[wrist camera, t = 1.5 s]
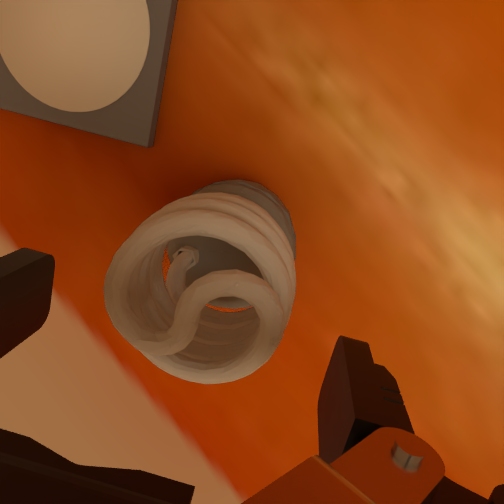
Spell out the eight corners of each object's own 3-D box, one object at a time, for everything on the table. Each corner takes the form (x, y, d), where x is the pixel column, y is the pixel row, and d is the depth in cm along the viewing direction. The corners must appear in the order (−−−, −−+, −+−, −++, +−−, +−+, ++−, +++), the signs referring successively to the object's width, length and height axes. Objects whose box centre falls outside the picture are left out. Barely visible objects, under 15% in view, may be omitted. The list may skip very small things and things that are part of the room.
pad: (-4, -103, 20) (-18, -113, 19) (187, -57, 20) (181, -65, 19) (-15, 102, 23) (-27, 101, 22) (152, 146, 22) (146, 147, 22)
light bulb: (213, 284, 24) (125, 432, 13) (178, 184, 23) (45, 251, 11) (314, 258, 23) (317, 395, 12) (283, 151, 22) (253, 189, 10)
